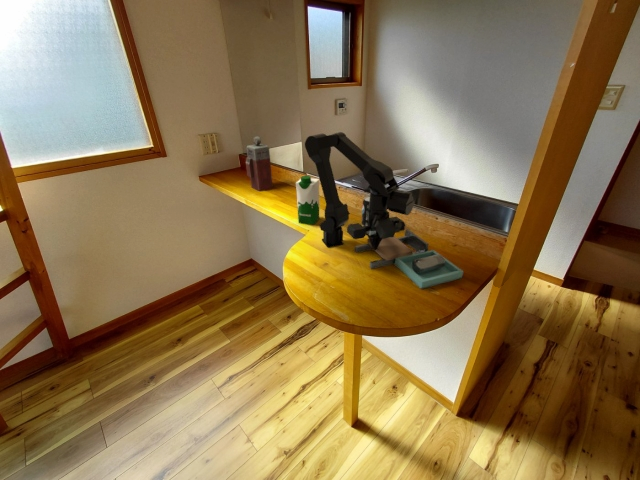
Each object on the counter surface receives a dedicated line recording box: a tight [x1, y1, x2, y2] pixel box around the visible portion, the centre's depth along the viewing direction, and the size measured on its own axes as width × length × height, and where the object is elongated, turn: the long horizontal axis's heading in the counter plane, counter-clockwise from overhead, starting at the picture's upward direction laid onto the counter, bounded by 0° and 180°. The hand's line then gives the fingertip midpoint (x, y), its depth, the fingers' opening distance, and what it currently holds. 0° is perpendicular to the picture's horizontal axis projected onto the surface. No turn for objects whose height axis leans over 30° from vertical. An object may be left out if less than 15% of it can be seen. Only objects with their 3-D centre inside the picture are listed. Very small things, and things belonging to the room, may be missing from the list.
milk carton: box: [295, 175, 320, 226], centre depth 126 cm, size 9×9×20 cm
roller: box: [412, 253, 445, 274], centre depth 94 cm, size 9×4×4 cm, turn 111°
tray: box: [394, 249, 464, 290], centre depth 95 cm, size 15×14×2 cm
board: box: [366, 235, 414, 260], centre depth 104 cm, size 10×13×3 cm
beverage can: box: [360, 195, 370, 226], centre depth 123 cm, size 7×7×12 cm
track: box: [354, 228, 430, 270], centre depth 104 cm, size 22×12×5 cm, turn 110°
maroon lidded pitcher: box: [245, 136, 274, 192], centre depth 163 cm, size 9×11×28 cm
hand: (374, 249), depth 102 cm, fingers closed
